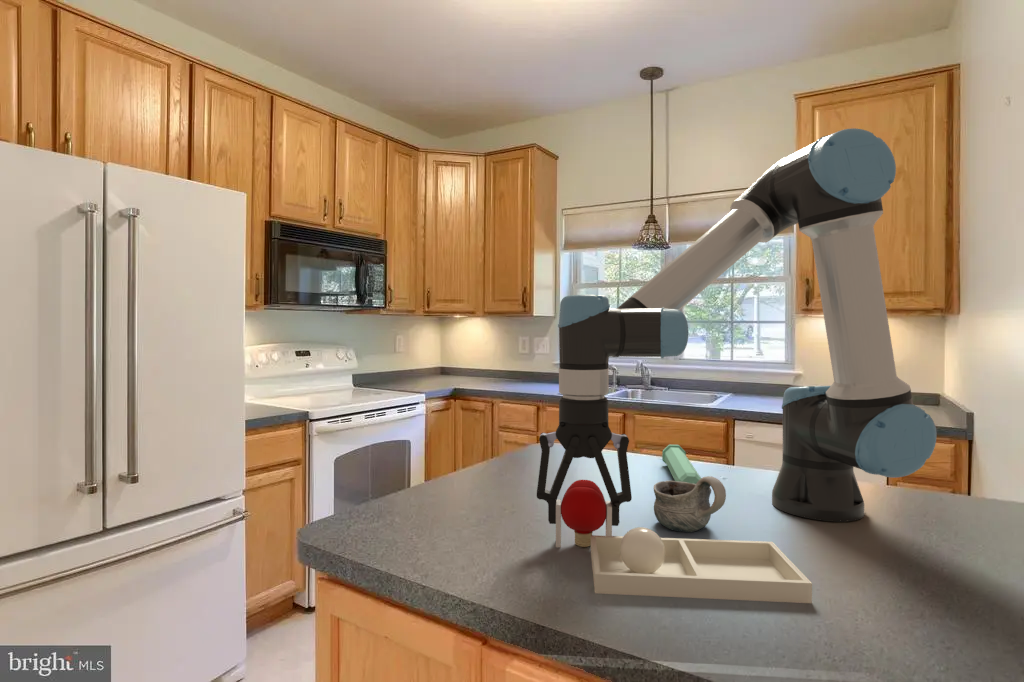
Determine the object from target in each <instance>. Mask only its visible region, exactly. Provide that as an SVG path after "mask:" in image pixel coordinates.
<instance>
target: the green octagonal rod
mask: <svg viewBox="0 0 1024 682" xmlns="http://www.w3.org/2000/svg"><path fill="white" fill-rule="evenodd" d="M661 455H662V456H661V458H662V459H661V460H662V462H663V463H664V464H665V465H666V466H667V468H668V470H669V472H670V473H671V475H672V478H673V481H679V482H687V483H692V484H696V483H697V482H698V481H699V480H700V479H701V478H702V477H701V476H700V475H699V472H698V471H697V470H696V468H695V467H694V465H693V464H692V463H691V461H690V460H689V458H688V457H687V452H686V451H685V449H683V448H682V447H681V446H680V445H679V444H668V445H667V446H666V447H665V448H663V450H662V454H661Z"/></svg>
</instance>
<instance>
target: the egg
mask: <svg viewBox="0 0 1024 682" xmlns="http://www.w3.org/2000/svg"><path fill="white" fill-rule="evenodd" d="M623 536H624V537H623V538H622V540H621V544H620V554H621V558H622V560H623V562H624V564H625V565H626V566H627V567H628V568H629V569H630V570H632V571H633V572H635V573H640V574H651V573H653V572H655V571H657V570H658V569H659V568H660V567H661V565H662V564H663V561H664V558H665V547H664V544H663V542H662V540H661V538H662V537H661V536H659V535H658V533H656V532H655V531H654V530H653V529H650V528H648V527H644V526H641V527H634V528H631V529H630V530H628V531H627V532H626V533H625V534H624V535H623Z"/></svg>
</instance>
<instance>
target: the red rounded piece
mask: <svg viewBox="0 0 1024 682" xmlns="http://www.w3.org/2000/svg"><path fill="white" fill-rule="evenodd" d="M561 520H563V522H564V525H566V527H568V528H569V529H571V530H572V531H574V544H575V545H577V546H578V547H581V548H588V547H591V535H593V532H596V531H597V530H599V529H600V528H601V527H602V526H604V524H605V523H606V499H605V496H604V494H603V491H602V490H601V488H600V487H599V486H598V485H597V483H595V482H594V481H592V480H588V479H578V480H576V481H574V482H572V483H571V484H570V485H569V486H568V488H567V489H566V490H565V493H564V495H563V497H562V500H561Z"/></svg>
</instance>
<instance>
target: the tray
mask: <svg viewBox="0 0 1024 682" xmlns="http://www.w3.org/2000/svg"><path fill="white" fill-rule="evenodd" d="M623 537H624V535H623V536H621V535H619V536H618V535H612V536H606V535H594V534H592V535H591V545H590V560H591V569H592V579H593V586H594V587H593V590H594V594H598V595H599V594H603V595H604V594H605V595H620V596H621V595H625V596H626V595H627V596H642V597H644V596H646V597H670V598H671V597H672V598H687V599H688V598H689V599H692V598H693V599H711V600H713V599H714V600H731V601H732V600H733V601H755V602H756V601H757V602H776V603H777V602H778V603H798V604H799V603H800V604H813V583H812V582H811V581H810V579H809V578H807V576H806V575H805V574H804V573H803V572H802V571H801V570H800V569H799V568H798V567H797V565H795V564H794V563H793V561H792V560H791V559H789V557H787V556H786V554H785V553H784V552H782V550H781V549H780V548H779V547H778V546H777V545H776V544H775V543H774V542H773V541H764V540H763V541H760V540H758V541H756V540H734V539H732V540H731V539H708V538H707V539H705V538H704V539H702V538H679V537H678V538H674V537H660V538H661V540H662V542H663V544H664V547H665V558H664V561H663V564H662V565H661V567H660V568H659V569H658V570H657V571H655V572H653V573H651V574H640V573H635V572H633V571H632V570H630V569H629V568H628V567H627V566H626V565H625V564H624V562H623V560H622V558H621V554H620V544H621V540H622V538H623Z"/></svg>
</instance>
